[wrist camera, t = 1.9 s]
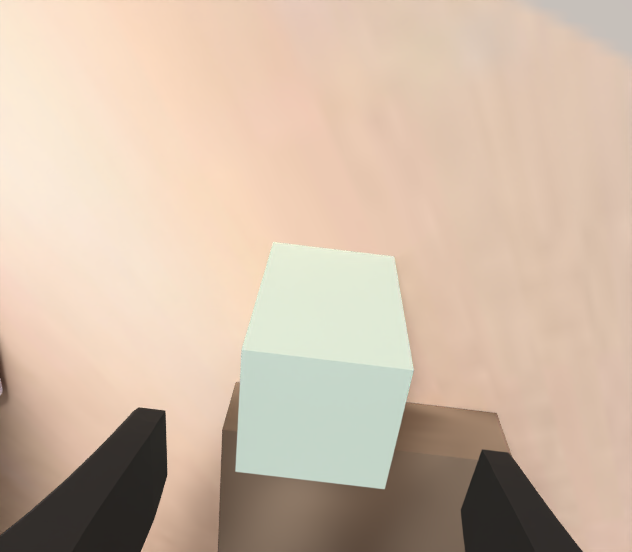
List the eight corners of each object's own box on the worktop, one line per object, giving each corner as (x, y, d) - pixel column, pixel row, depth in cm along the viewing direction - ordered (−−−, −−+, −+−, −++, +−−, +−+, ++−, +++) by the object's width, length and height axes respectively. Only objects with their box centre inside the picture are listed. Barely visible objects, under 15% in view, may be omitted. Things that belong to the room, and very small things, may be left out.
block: (265, 341, 20) (235, 471, 14) (273, 241, 18) (241, 349, 12) (374, 354, 20) (384, 489, 14) (394, 256, 18) (413, 369, 12)
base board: (226, 575, 26) (215, 629, 24) (235, 382, 21) (222, 429, 18) (430, 599, 26) (438, 655, 24) (496, 413, 21) (514, 464, 18)
